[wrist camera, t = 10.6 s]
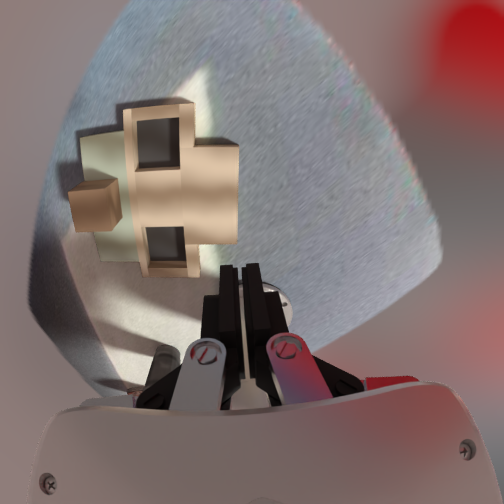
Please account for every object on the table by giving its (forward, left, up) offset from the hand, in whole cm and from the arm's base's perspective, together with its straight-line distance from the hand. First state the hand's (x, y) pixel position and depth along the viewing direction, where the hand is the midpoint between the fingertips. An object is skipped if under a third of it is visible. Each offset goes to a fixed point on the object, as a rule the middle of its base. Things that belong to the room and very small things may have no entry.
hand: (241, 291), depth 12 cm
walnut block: (-2, +16, -21) cm, 26 cm away
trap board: (-3, +9, -23) cm, 25 cm away
